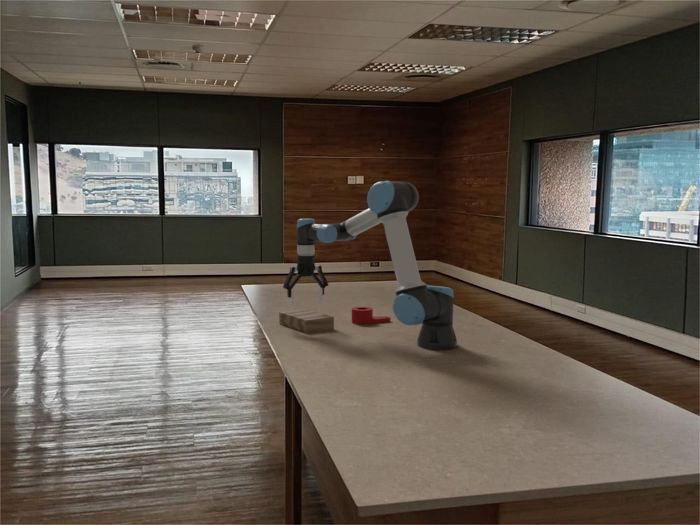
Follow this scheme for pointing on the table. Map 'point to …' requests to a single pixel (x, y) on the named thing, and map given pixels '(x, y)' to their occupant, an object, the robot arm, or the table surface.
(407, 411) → the table surface
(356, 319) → the lever
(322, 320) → the walnut base brick
